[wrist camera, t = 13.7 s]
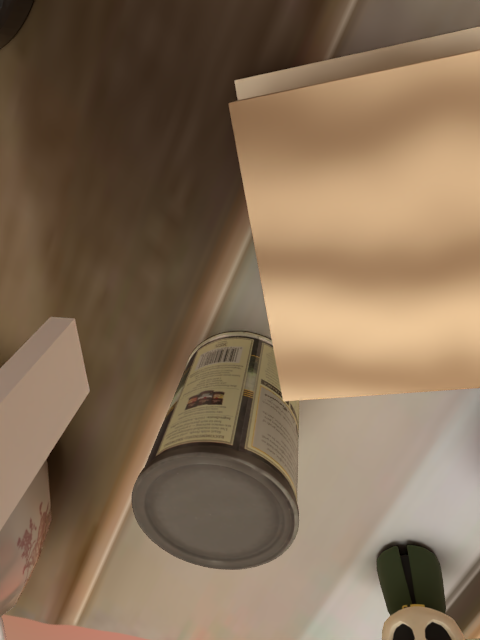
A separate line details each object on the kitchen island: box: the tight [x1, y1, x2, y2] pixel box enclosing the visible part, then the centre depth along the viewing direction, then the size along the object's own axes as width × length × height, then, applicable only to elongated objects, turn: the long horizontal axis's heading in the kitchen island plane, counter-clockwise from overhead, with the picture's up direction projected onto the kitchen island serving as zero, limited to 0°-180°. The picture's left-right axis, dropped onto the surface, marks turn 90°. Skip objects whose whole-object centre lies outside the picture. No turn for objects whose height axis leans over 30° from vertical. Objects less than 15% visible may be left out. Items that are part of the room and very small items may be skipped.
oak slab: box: [228, 49, 480, 401], centre depth 22 cm, size 16×20×2 cm
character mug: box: [377, 545, 480, 640], centre depth 42 cm, size 11×7×13 cm, turn 109°
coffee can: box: [132, 331, 299, 570], centre depth 34 cm, size 10×10×14 cm
